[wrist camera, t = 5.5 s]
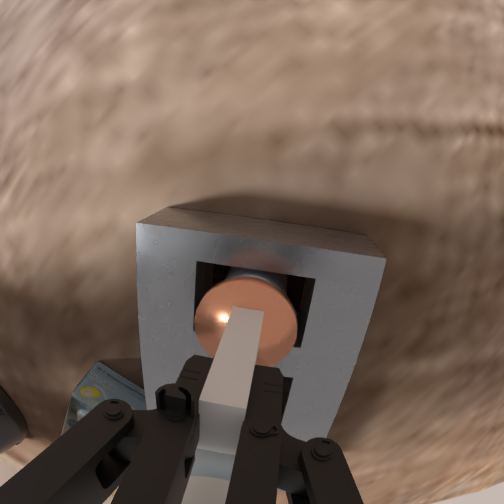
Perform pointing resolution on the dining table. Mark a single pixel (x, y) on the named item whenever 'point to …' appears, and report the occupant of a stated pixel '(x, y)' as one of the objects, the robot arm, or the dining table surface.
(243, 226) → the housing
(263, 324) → the plunger
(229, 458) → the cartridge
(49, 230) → the dining table surface
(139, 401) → the beverage carton
